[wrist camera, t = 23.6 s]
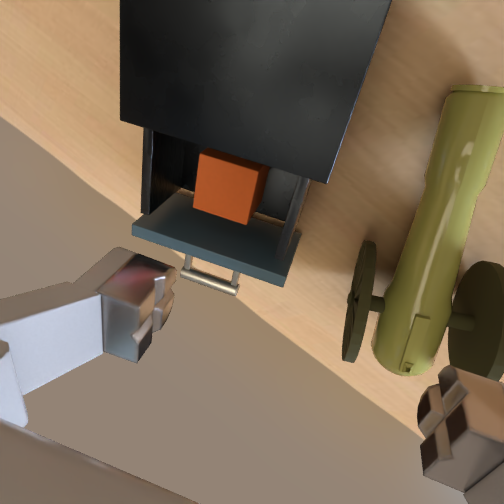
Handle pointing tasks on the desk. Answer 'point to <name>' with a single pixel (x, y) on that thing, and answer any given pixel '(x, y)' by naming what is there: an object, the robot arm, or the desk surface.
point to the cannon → (440, 257)
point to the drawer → (216, 218)
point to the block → (229, 185)
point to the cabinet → (249, 74)
